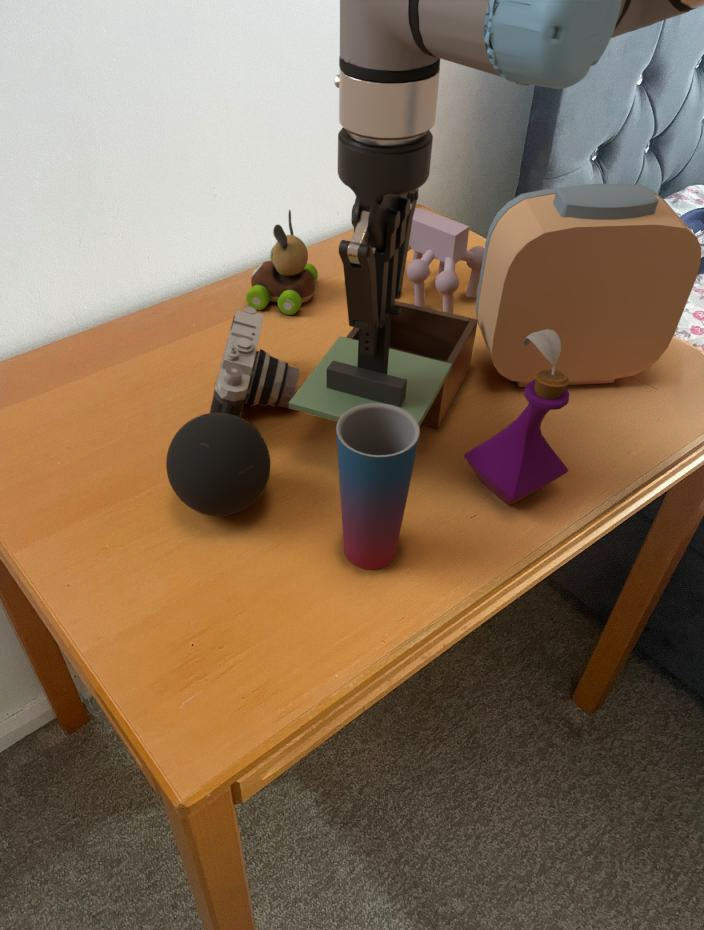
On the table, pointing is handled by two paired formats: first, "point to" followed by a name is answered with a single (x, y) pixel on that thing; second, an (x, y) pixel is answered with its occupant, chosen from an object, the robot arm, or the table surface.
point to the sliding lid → (369, 383)
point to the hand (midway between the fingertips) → (372, 374)
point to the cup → (374, 479)
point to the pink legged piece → (441, 256)
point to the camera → (251, 370)
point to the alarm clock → (585, 281)
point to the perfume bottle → (525, 434)
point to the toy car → (283, 275)
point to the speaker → (218, 464)
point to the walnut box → (434, 347)
